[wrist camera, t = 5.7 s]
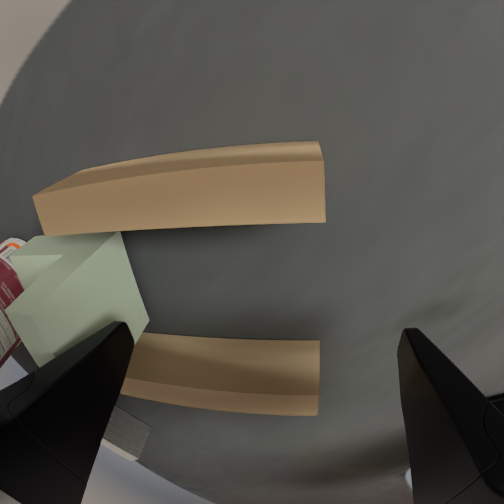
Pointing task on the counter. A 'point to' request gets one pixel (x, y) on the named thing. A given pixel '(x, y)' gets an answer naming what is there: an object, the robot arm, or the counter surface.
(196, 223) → the channel
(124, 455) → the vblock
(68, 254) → the block
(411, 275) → the counter surface
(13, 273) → the pill bottle
